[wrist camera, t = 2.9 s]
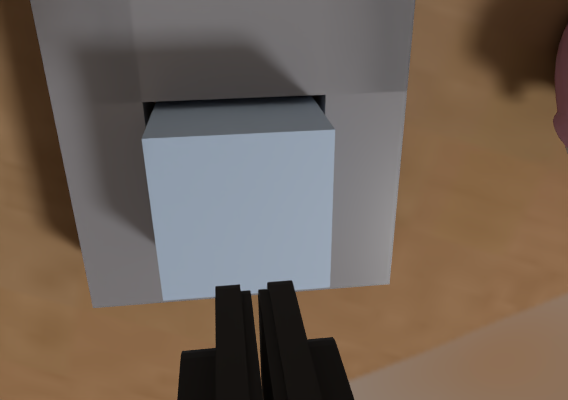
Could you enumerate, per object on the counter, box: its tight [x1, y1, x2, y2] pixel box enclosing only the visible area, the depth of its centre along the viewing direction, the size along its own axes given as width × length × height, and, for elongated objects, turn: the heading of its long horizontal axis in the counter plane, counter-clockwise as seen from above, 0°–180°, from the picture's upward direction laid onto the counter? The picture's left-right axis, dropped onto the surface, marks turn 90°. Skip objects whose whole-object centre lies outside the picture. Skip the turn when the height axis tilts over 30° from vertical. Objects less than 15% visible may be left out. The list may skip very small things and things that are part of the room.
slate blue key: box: [142, 95, 335, 301], centre depth 18 cm, size 6×6×4 cm
